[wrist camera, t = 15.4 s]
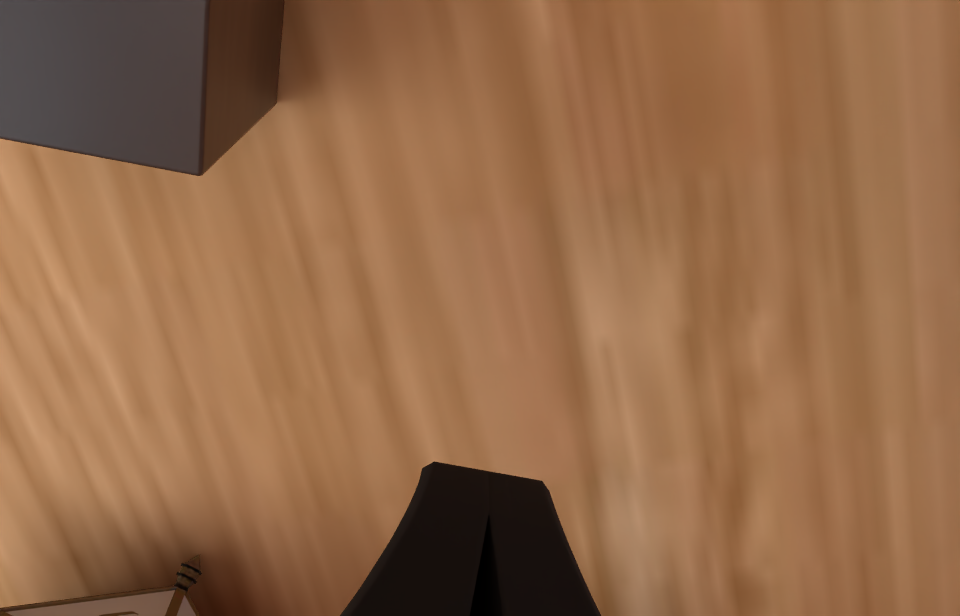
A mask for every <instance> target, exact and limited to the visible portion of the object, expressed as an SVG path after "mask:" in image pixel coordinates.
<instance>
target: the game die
mask: <svg viewBox="0 0 960 616" xmlns="http://www.w3.org/2000/svg"><path fill="white" fill-rule="evenodd" d="M181 566H182V568H181V570H180V572H177V575H178V578H177V582H176V584H175V585H174V586H167V587H160V588H152V589H144V590H136V591H128V592H121V593H113V594H105V595H97V596H89V597H82V598H74V599H66V600H58V601H50V602H43V603H35V604H27V605H19V606H11V607H4V608H0V616H200V615H199V613H198V611H197V609H196V608H195V606H194V604H193V602H192V601H191V599H190V597H189V595H188V594H187V591H188V588H189V587H190V586H191V585H192V584H193V583H195V584H196V582H197V581H196V579H197V577H198V575H201V574H202V573H201V571H200V555H198V556H196V557H195V558H193V559H191V560H190V561H188V562H186V563H185V564H183V563H182V564H181Z"/></svg>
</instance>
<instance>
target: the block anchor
mask: <svg viewBox="0 0 960 616" xmlns="http://www.w3.org/2000/svg"><path fill="white" fill-rule="evenodd" d="M283 10H284V0H0V139H6V140H11V141H16V142H21V143H27V144H32V145H37V146H43V147H48V148H53V149H59V150H64V151H69V152H75V153H80V154H85V155H90V156H96V157H101V158H106V159H112V160H117V161H122V162H128V163H133V164H138V165H143V166H149V167H154V168H159V169H165V170H170V171H175V172H181V173H186V174H191V175H197V176H201V175H203V174H204V173H205V172H206V171H207V170H208V169H209V168H210V167H211V166H212V165H213V164H214V163H215V162H216V161H217V160H218V159H220V158H221V157H222V156H223V155H224V154H225V153H226V152H227V151H228V150H229V149H230V148H231V147H232V146H233V145H234V144H235V143H236V142H237V141H238V140H239V139H240V138H241V137H242V136H243V135H245V134H246V133H247V132H248V131H249V130H250V129H251V128H252V127H253V126H254V125H255V124H256V123H257V122H258V121H259V120H260V119H261V118H262V117H263V116H264V115H265V114H266V113H267V112H268V111H270V110H271V109H272V108H273V107H274V106H275V104H276V99H277V86H278V74H279V61H280V48H281V35H282V23H283Z"/></svg>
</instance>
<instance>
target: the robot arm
mask: <svg viewBox="0 0 960 616" xmlns="http://www.w3.org/2000/svg"><path fill="white" fill-rule="evenodd" d="M340 616H601V614H600V612H599V610H598V608H597V606H596V604H595V602H594V600H593V598H592V596H591V594H590V592H589V589H588V587H587V585H586V583H585V581H584V578H583V576H582V574H581V572H580V569H579V567H578V565H577V562H576V560H575V558H574V555H573V553H572V551H571V548H570V546H569V544H568V541H567V539H566V536H565V533H564V531H563V528H562V526H561V523H560V521H559V518H558V515H557V512H556V510H555V507H554V504H553V501H552V498H551V495H550V492H549V490H548V489H547V487H546V486H545V484H544V483H543V482H542V481H540V480H534V479H529V478H523V477H517V476H512V475H506V474H501V473H495V472H489V471H484V470H478V469H472V468H467V467H461V466H456V465H450V464H444V463H439V462H433V463H431V464H429V465H427V466H426V467H424V468H422V472H421V476H420V480H419V483H418V486H417V488H416V491H415V493H414V496H413V498H412V500H411V502H410V504H409V507H408V509H407V511H406V513H405V515H404V517H403V518H402V520H401V522H400V524H399V526H398V527H397V529H396V531H395V533H394V535H393V537H392V538H391V540H390V542H389V543H388V545H387V547H386V548H385V550H384V551H383V553H382V554H381V556H380V558H379V559H378V561H377V562H376V564H375V565H374V567H373V569H372V570H371V572H370V573H369V575H368V577H367V578H366V580H365V581H364V583H363V584H362V586H361V587H360V589H359V590H358V592H357V593H356V595H355V596H354V597H353V599H352V600H351V602H350V603H349V604H348V606H347V607H346V608H345V610H344V611H343V612H342V614H341V615H340Z"/></svg>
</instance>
